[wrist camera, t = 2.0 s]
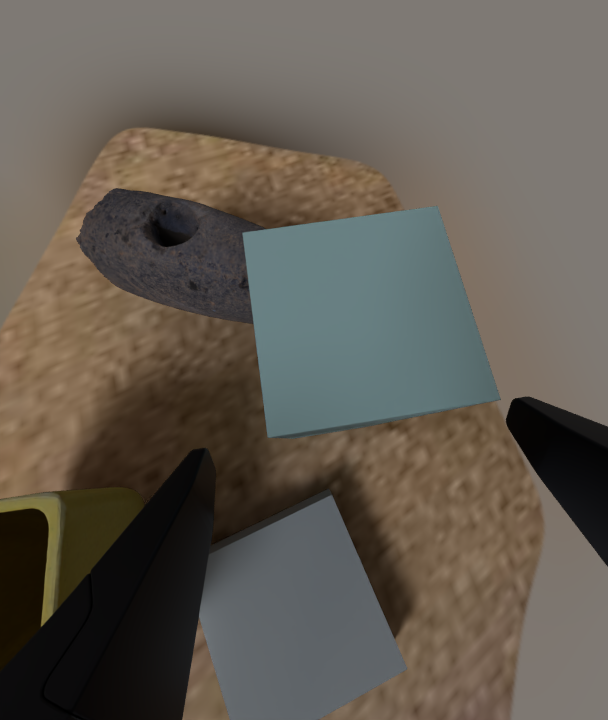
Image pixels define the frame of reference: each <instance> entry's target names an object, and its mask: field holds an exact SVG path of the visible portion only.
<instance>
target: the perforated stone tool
mask: <svg viewBox="0 0 608 720" xmlns="http://www.w3.org/2000/svg"><path fill="white" fill-rule="evenodd" d="M258 230H266V229H265V228H263V227H261V226H259V225H256V224H254V223H251V222H249V221H246V220H244V219H241V218H239V217H236V216H234V215H231V214H228V213H225V212H223V211H220V210H217V209H214V208H211V207H209V206H206V205H203V204H200V203H197V202H193V201H189V200H185V199H179V198H174V197H168V196H163V195H159V194H154V193H149V192H143V191H130V190H125V189H119V188H116V189H113V190H111V191H109V193H108V194H106V195H105V196H104V198H103V200H102V201H100V202H98V203H97V205H95V206H94V209H93V210H91V211H89V212H88V213H86V216H85V218H84V220H83V226H82V228H81V230H80V232H81V233H80V235H79V236H78V237H77V238H76V240H77V242H78V244H79V245H80V248H81V249H82V252H84V254H85V255H86V256H87V257H88V258H89V259H90V260H91V262H93V263H94V265H95V266H96V268H97V269H98V270H99V271H100V273H102V274H103V275H104V277H106V278H107V279H108V280H110V282H111V283H113V284H114V285H115V286H117V287H119V288H121V289H123V290H125V291H127V292H130V293H132V294H135V295H137V296H140V297H143V298H145V299H148V300H151V301H154V302H157V303H160V304H164V305H167V306H170V307H174V308H177V309H181V310H185V311H189V312H192V313H197V314H201V315H205V316H209V317H215V318H220V319H225V320H230V321H239V322H244V323H252V324H254V322H253V314H252V306H251V298H250V290H249V282H248V273H247V265H246V257H245V249H244V241H243V233H244V232H251V231H258Z"/></svg>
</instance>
